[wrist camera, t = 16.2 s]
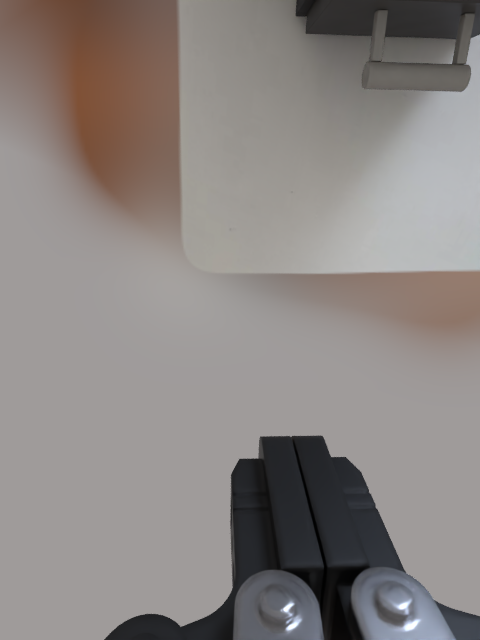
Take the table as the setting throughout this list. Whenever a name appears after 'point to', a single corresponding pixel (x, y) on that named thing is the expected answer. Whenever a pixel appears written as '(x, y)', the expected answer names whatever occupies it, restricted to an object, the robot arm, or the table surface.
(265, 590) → the robot arm
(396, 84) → the drawer
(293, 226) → the table surface
